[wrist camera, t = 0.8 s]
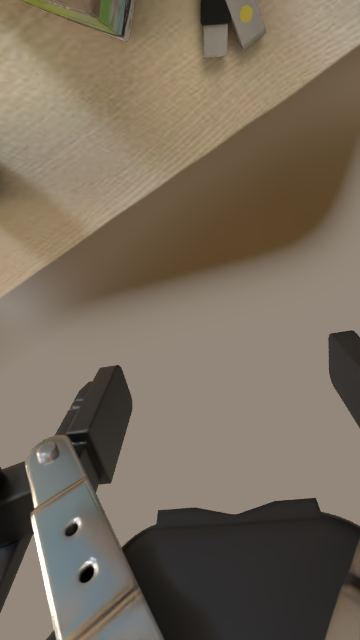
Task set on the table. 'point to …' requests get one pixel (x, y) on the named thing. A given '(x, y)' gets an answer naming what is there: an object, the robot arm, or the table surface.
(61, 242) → the table surface
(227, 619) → the robot arm
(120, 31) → the tea box
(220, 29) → the usb flash drive
